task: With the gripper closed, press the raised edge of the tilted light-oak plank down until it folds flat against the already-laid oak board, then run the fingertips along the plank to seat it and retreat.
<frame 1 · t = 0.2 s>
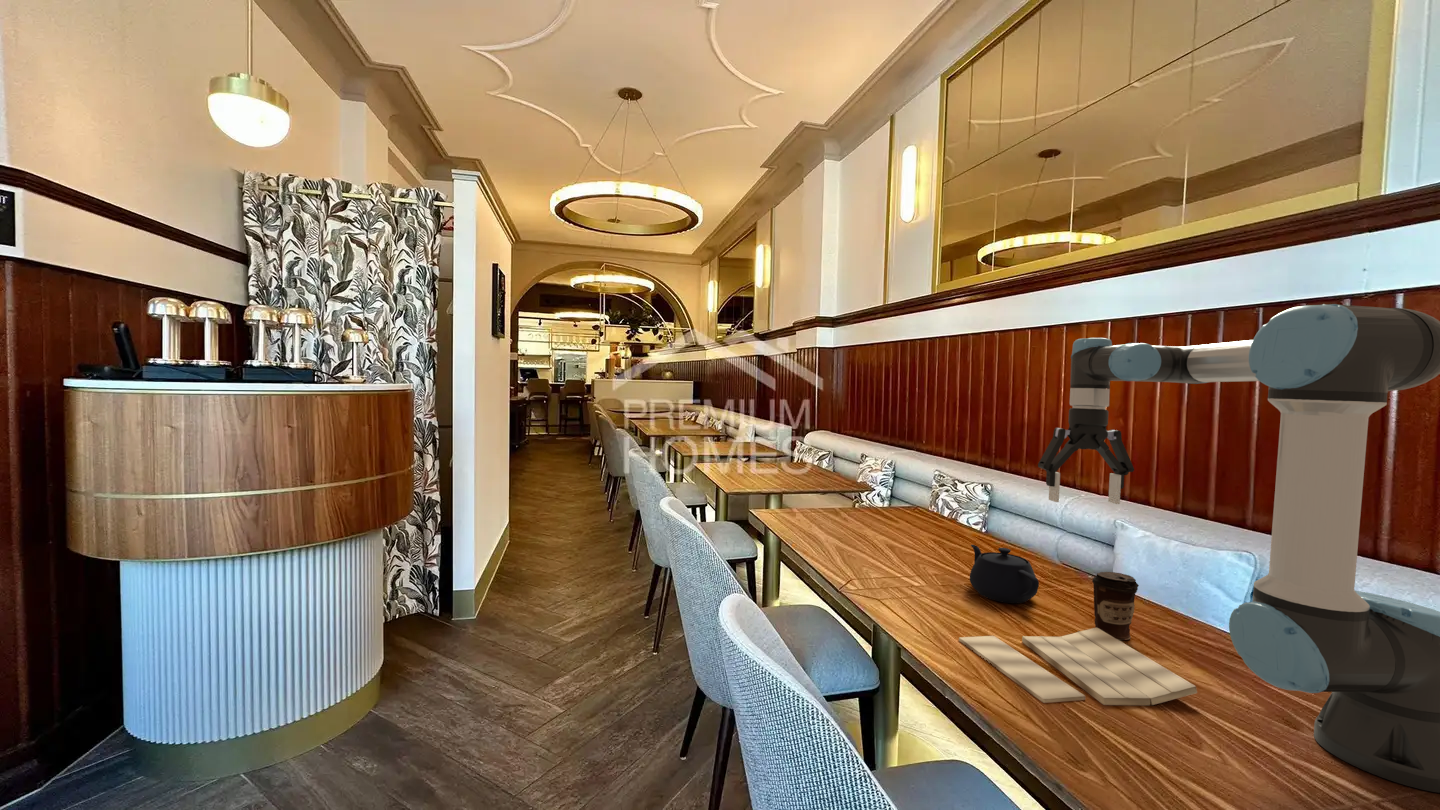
hand: (1083, 502, 131), 28 cm above the table, fingers open, 13 cm apart
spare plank: (1015, 670, 110), on the table
teapot: (1000, 595, 149), on the table
coffee cup: (1112, 636, 126), on the table
laid board: (1079, 670, 109), on the table
plank: (1121, 661, 109), point 2 cm above the table, hinge at 15.2°
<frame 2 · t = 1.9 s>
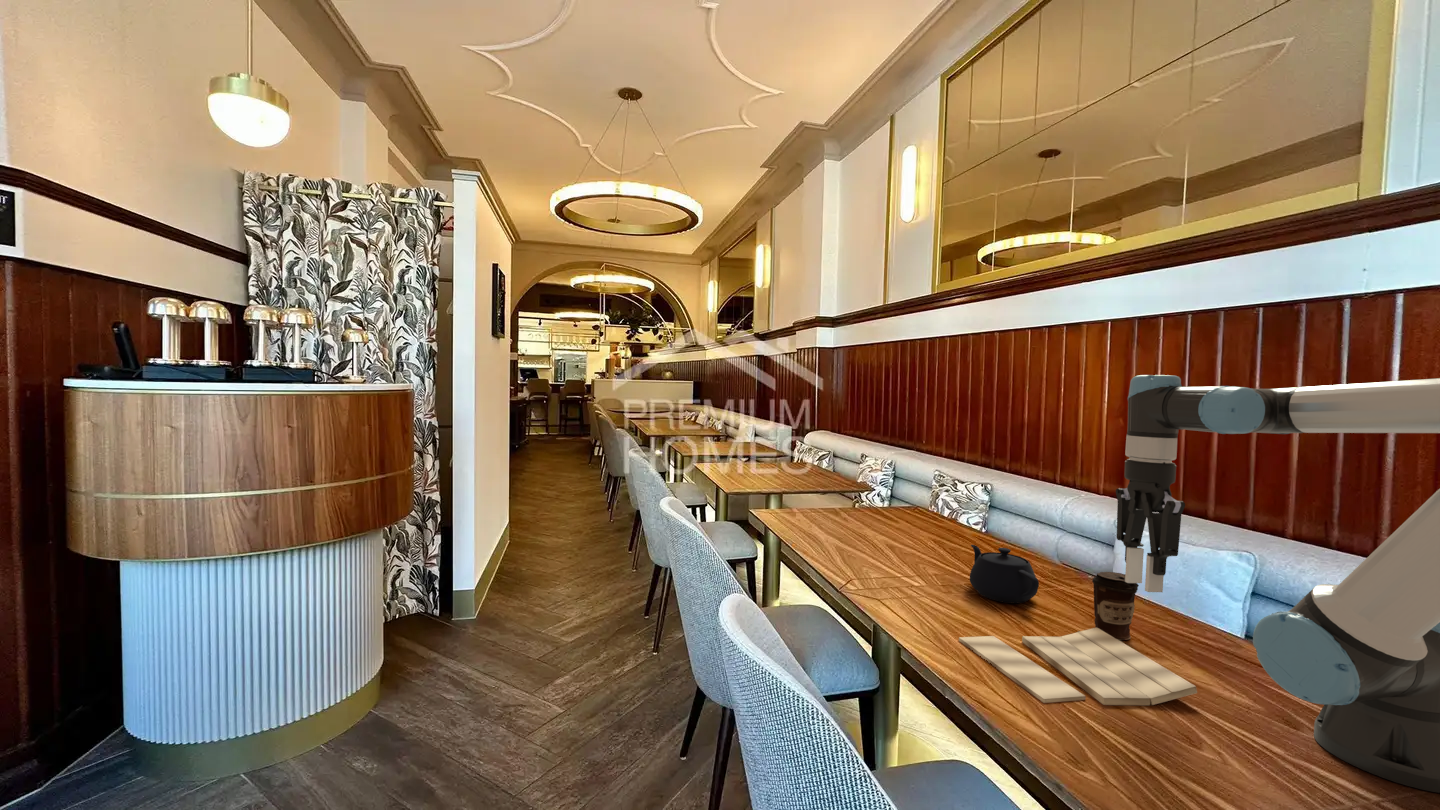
hand: (1143, 586, 107), 17 cm above the table, fingers open, 4 cm apart
nothing on the table moved.
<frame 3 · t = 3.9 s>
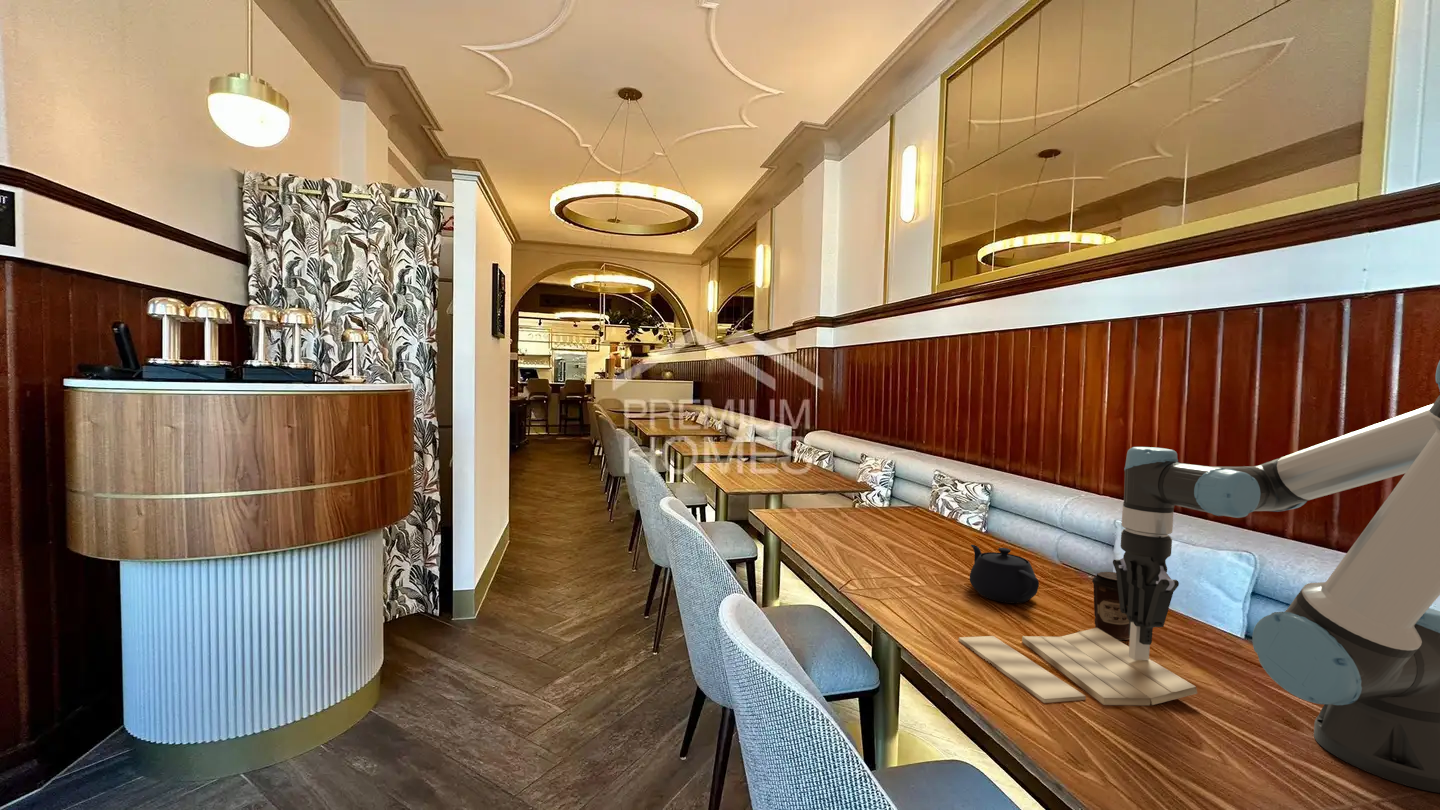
hand: (1138, 658, 108), 3 cm above the table, fingers closed
plank: (1121, 661, 109), point 2 cm above the table, hinge at 14.6°, touching gripper
everything else where it was.
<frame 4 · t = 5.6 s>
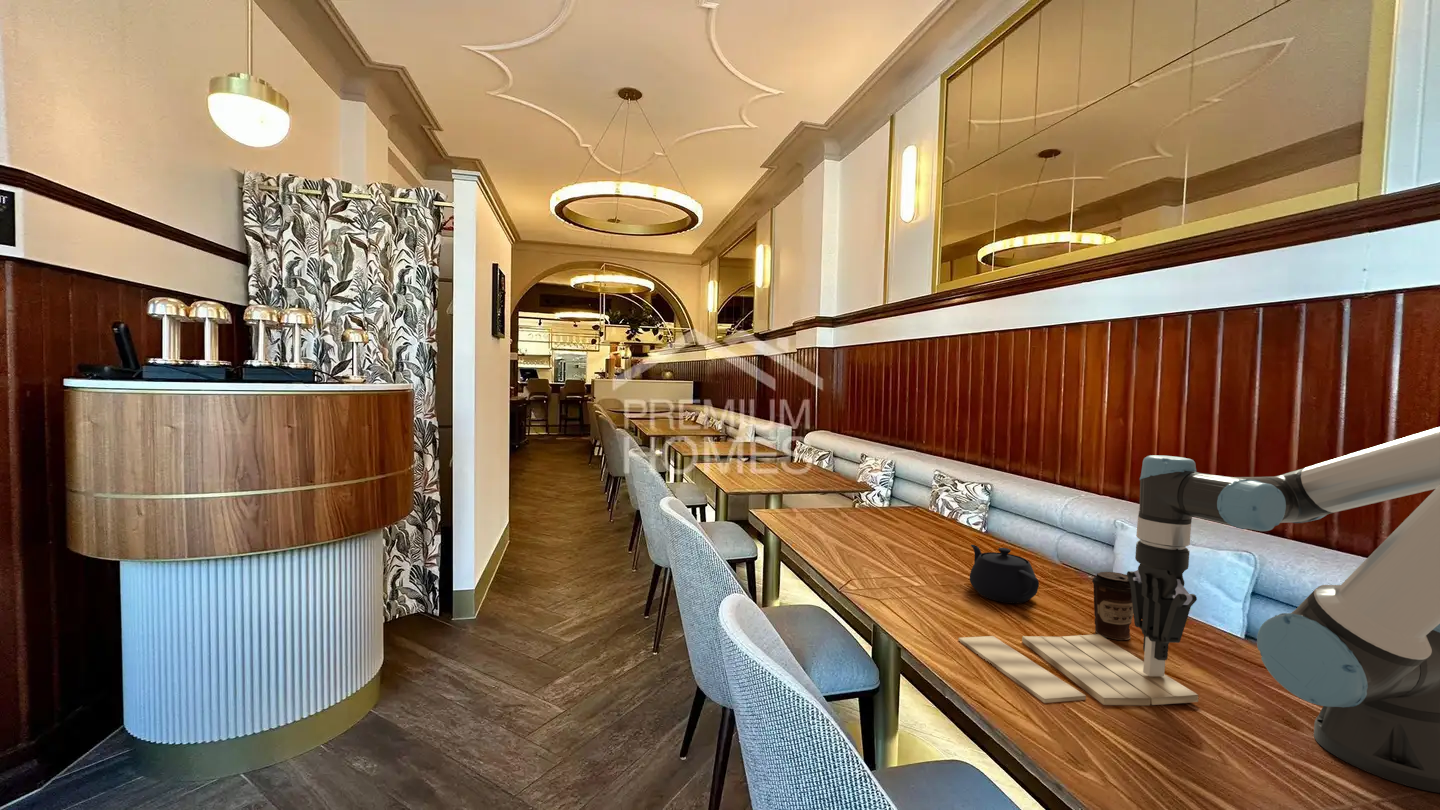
hand: (1153, 674, 104), 2 cm above the table, fingers closed
plank: (1122, 665, 109), point 1 cm above the table, hinge at 4.4°, touching gripper
everything else where it was.
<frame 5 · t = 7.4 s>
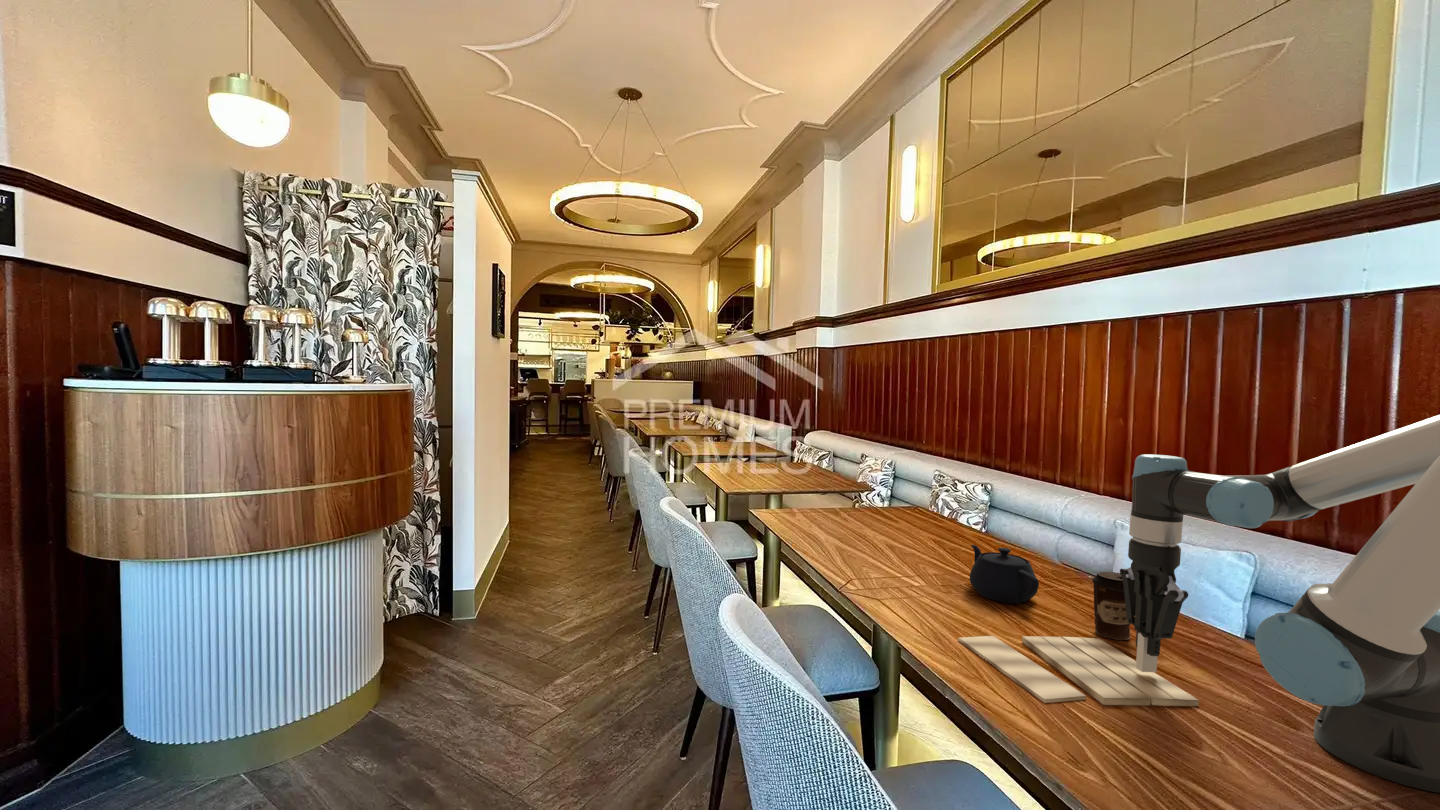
hand: (1146, 669, 106), 2 cm above the table, fingers closed
plank: (1122, 667, 109), point 1 cm above the table, hinge at -2.0°
everything else where it was.
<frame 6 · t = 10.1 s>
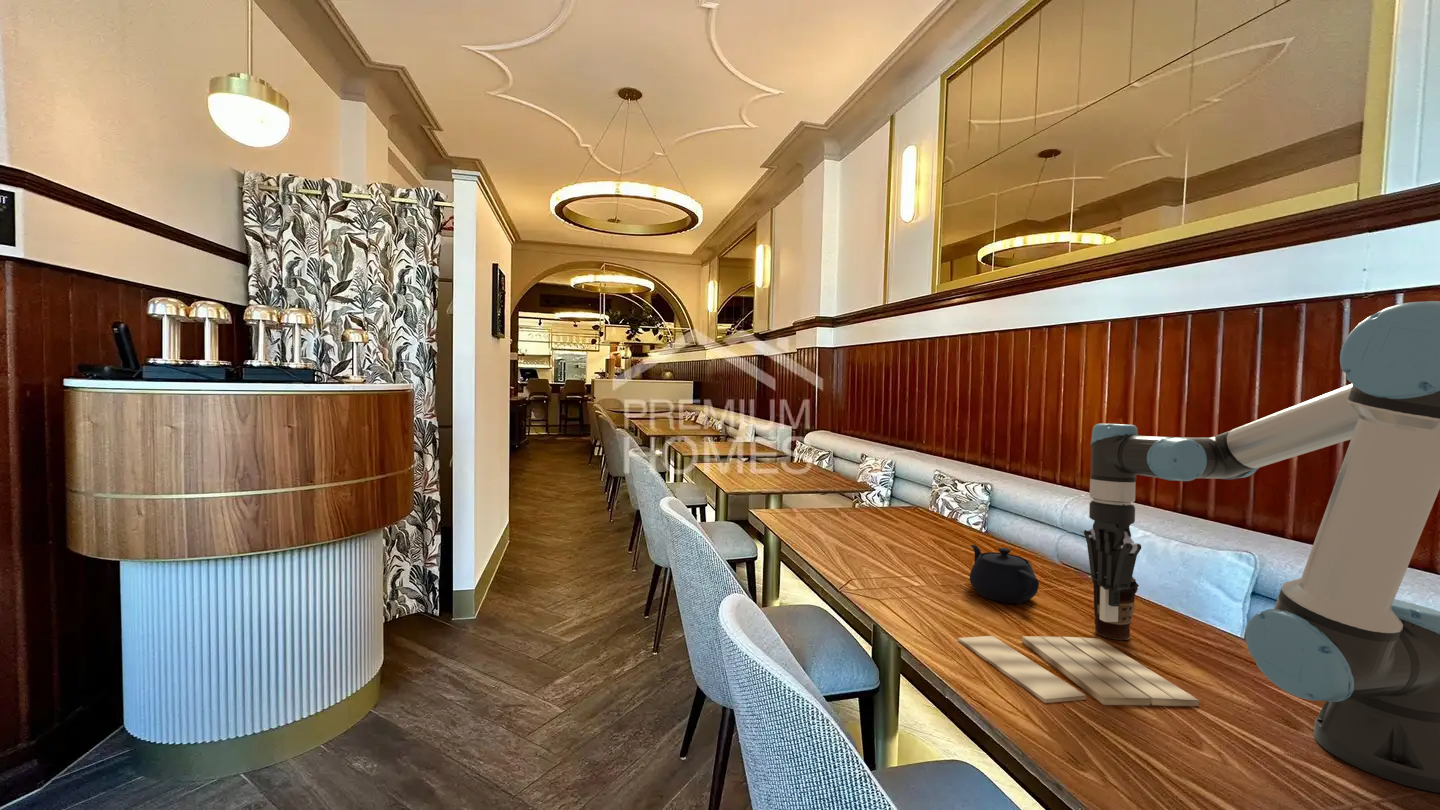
hand: (1108, 620, 116), 7 cm above the table, fingers closed
nothing on the table moved.
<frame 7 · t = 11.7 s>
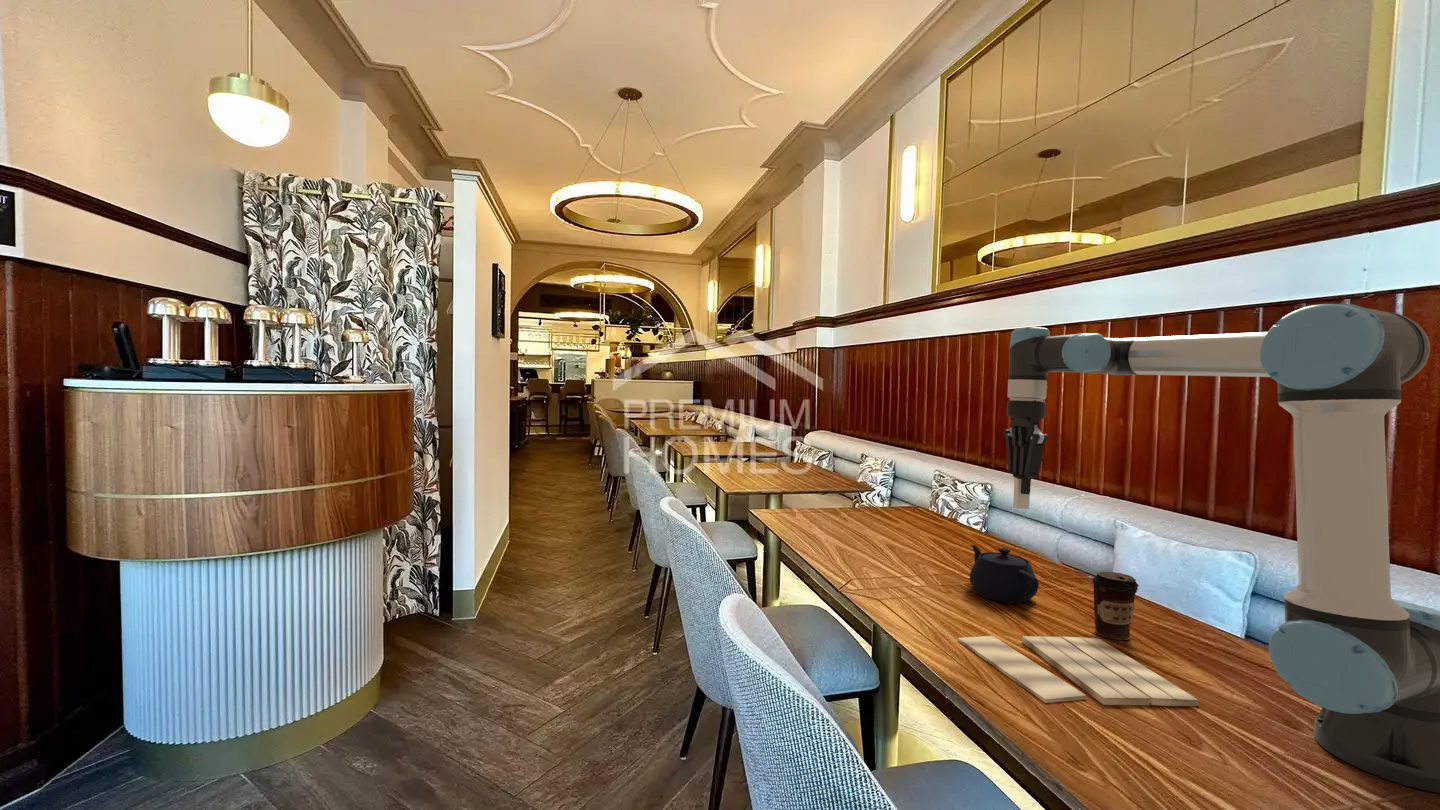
hand: (1021, 508, 127), 27 cm above the table, fingers closed
nothing on the table moved.
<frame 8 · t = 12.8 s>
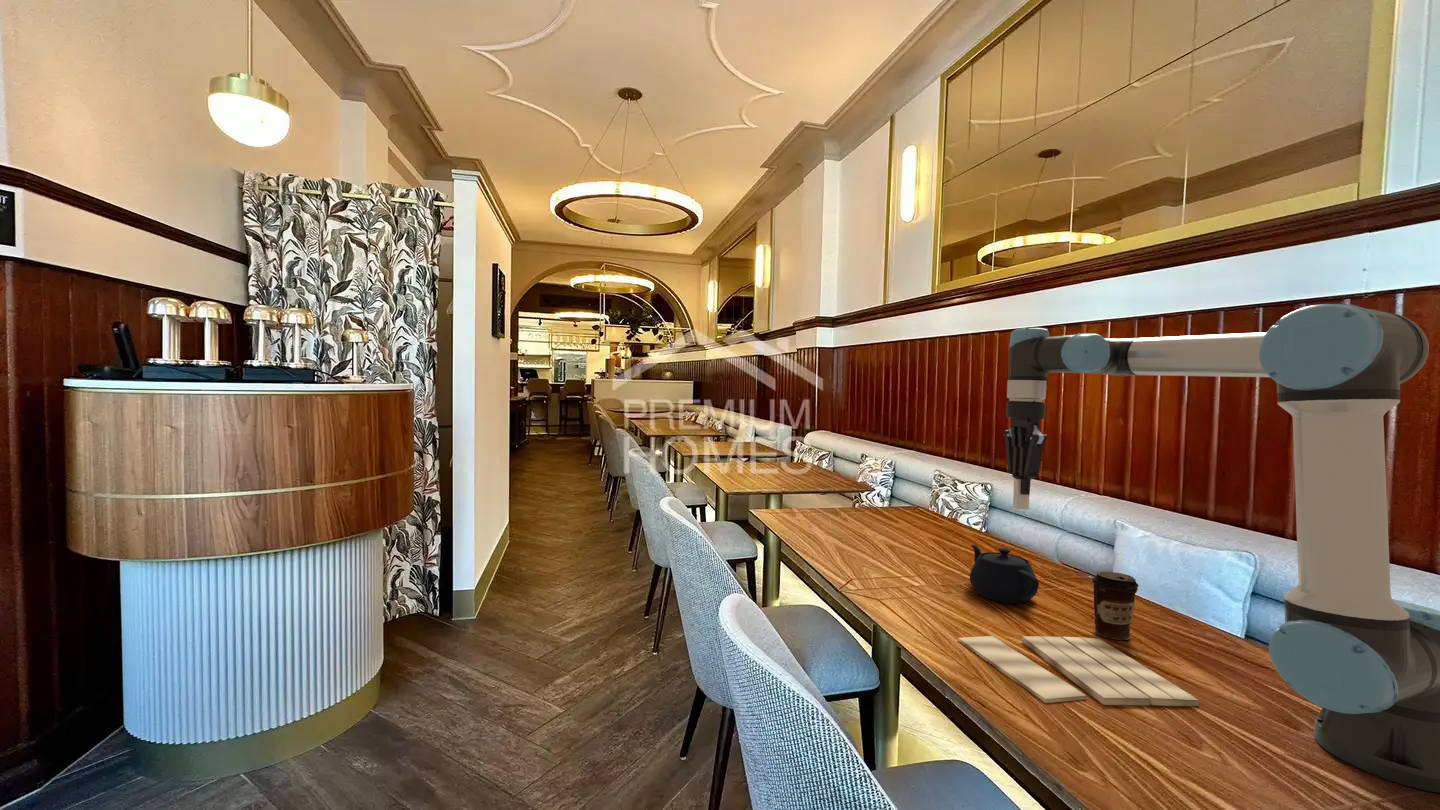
hand: (1020, 508, 127), 26 cm above the table, fingers closed
nothing on the table moved.
at the end: plank at -2° (first picture: +15°); plank touching table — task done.
